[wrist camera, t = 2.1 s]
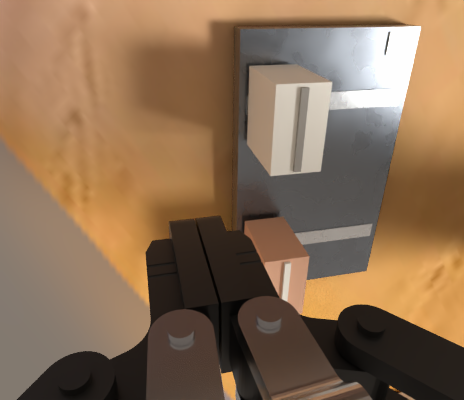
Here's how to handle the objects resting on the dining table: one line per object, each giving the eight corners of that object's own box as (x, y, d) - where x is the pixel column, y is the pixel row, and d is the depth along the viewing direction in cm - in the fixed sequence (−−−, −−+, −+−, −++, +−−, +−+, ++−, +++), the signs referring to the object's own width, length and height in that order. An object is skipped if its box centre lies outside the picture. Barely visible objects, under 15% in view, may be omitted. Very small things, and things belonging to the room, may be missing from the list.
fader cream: (296, 64, 24) (334, 82, 20) (289, 140, 27) (322, 172, 22) (249, 65, 24) (277, 85, 19) (247, 144, 26) (271, 177, 22)
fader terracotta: (283, 216, 30) (310, 258, 25) (278, 269, 32) (303, 315, 28) (244, 221, 29) (265, 264, 25) (243, 274, 31) (262, 322, 27)
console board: (406, 24, 27) (422, 26, 25) (358, 260, 36) (367, 271, 35) (234, 26, 24) (240, 29, 23) (231, 279, 34) (235, 291, 32)
